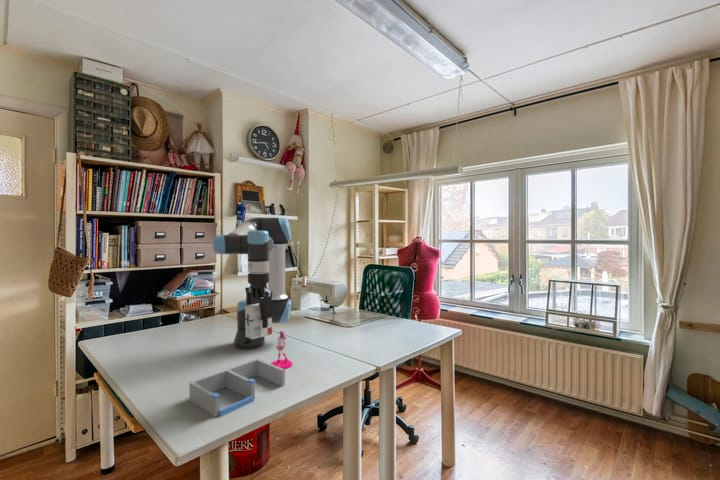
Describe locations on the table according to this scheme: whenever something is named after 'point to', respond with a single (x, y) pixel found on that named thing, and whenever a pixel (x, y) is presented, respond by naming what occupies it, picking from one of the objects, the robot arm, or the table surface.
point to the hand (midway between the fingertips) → (258, 334)
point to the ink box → (255, 321)
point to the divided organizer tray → (233, 385)
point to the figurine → (280, 346)
